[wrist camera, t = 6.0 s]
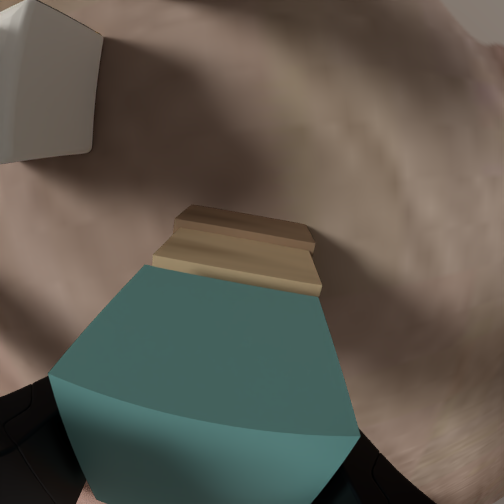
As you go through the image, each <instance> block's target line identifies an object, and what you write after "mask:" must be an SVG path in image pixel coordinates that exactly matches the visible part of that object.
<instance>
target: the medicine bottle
mask: <svg viewBox="0 0 504 504" xmlns="http://www.w3.org/2000/svg"><path fill="white" fill-rule="evenodd" d="M102 45H103V36H102V35H101V34H99V33H98V32H96V31H94V30H92V29H91V28H89V27H87V26H85V25H84V24H82V23H80V22H78V21H76V20H75V19H73V18H71V17H69V16H67V15H65V14H64V13H62V12H60V11H58V10H56V9H54V8H52V7H50V6H48V5H46V4H44V3H42V2H40V1H38V0H25V1H22V2H20V3H18V4H16V5H14V6H12V7H10V8H8V9H6V10H4V11H2V12H0V164H6V163H13V162H19V161H26V160H32V159H40V158H47V157H56V156H64V155H74V154H84V153H88V152H90V150H91V149H92V139H93V122H94V109H95V98H96V88H97V80H98V72H99V65H100V58H101V51H102Z"/></svg>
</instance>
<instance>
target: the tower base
mask: <svg viewBox="0 0 504 504" xmlns="http://www.w3.org/2000/svg"><path fill="white" fill-rule="evenodd" d="M179 228H185V229H191V230H196V231H202V232H208V233H213V234H219V235H225V236H230V237H236V238H242V239H247V240H253V241H258V242H264V243H269V244H275V245H280V246H286V247H291V248H297V249H302V250H307V251H309V252H310V255H311V258H312V256H313V252H314V248H315V242H314V240H313V238H312V236H311V234H310V232H309V230H308V228H307V226H306V225H304V224H299V223H294V222H289V221H283V220H278V219H272V218H267V217H262V216H256V215H250V214H245V213H239V212H233V211H227V210H222V209H216V208H210V207H204V206H198V205H191V206H190V207H188V208H187V209H186V210H185V211H183V212H182V213H181V214H180V215H178V216H177V217H176V218H175V220H174V230H173V234H174V233H175V232H176V231H177V230H178V229H179Z"/></svg>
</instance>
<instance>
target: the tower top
mask: <svg viewBox="0 0 504 504" xmlns="http://www.w3.org/2000/svg"><path fill="white" fill-rule="evenodd" d="M152 266H154V267H159V268H164V269H169V270H174V271H179V272H184V273H189V274H194V275H199V276H204V277H209V278H214V279H220V280H225V281H230V282H235V283H241V284H246V285H252V286H257V287H263V288H268V289H274V290H280V291H286V292H291V293H297V294H303V295H309V296H315V297H318V298H319V295H320V292H321V288H322V283H321V281H320V278H319V276H318V273H317V270H316V268H315V265H314V263H313V260H312V258H311V255H310V252H309V251H307V250H302V249H297V248H291V247H286V246H280V245H275V244H269V243H264V242H258V241H253V240H247V239H242V238H236V237H230V236H225V235H219V234H213V233H208V232H202V231H196V230H191V229H185V228H179V229H178V230H177V231H176V232H175V233H174V234H173V235H172V236H171V237H170V238H169V239H168V240H167V241H166V242H165V243H164V244H163V245H162V246H161V247H160V248H159V249H158V250H157V251H156V252H155V253H154V254H153V261H152Z"/></svg>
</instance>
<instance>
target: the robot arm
mask: <svg viewBox="0 0 504 504" xmlns="http://www.w3.org/2000/svg"><path fill="white" fill-rule="evenodd" d="M358 429H359V428H358ZM359 432H360V438H359V440H358V441H357V443H356V444H355V446H354V447H353V448H352V450H351V451H350V453H349V454H348V456H347V457H346V459H345V460H344V461H343V463H342V464H341V466H340V467H339V468H338V470H337V471H336V472H335V474H334V475H333V476H332V478H331V479H330V480H329V482H328V483H327V484H326V485H325V487H324V488H323V489H322V491H321V492H320V493H319V494H318V496H317V497H316V498H315V499H314V500H313V502H312V503H311V504H436V503H435V502H434V501H433V500H431V499H430V498H429V497H428V496H426V495H425V494H424V493H423V492H422V491H420V490H419V489H418V488H417V487H416V486H414V485H413V484H412V483H411V482H410V481H409V480H408V479H406V478H405V477H404V476H403V475H402V474H401V473H400V472H399V471H398V470H397V469H396V468H395V467H394V466H393V465H392V464H391V463H390V462H389V461H388V460H387V459H386V458H385V457H384V456H383V454H382V453H379V450H378V449H377V448H376V447H375V446H374V445H373V444H372V442H371V441H370V440H369V439H368V438H367V437H366V436H365V435H364V434H363V432H362V431H361V430H360V429H359ZM85 482H86V478H85V475H84V473H83V471H82V469H81V467H80V464H79V462H78V460H77V457H76V455H75V453H74V450H73V448H72V445H71V443H70V440H69V438H68V435H67V432H66V429H65V427H64V424H63V421H62V418H61V415H60V412H59V409H58V406H57V403H56V400H55V397H54V393H53V390H52V386H51V383H50V379H49V376H47V377H45V378H43V379H40V380H38V381H36V382H34V383H33V384H30V385H28V386H25V387H23V388H21V389H19V390H17V391H14V392H12V393H10V394H7V395H5V396H2V397H0V504H76V502H77V500H78V498H79V496H80V493H81V491H82V489H83V487H84V484H85Z"/></svg>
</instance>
